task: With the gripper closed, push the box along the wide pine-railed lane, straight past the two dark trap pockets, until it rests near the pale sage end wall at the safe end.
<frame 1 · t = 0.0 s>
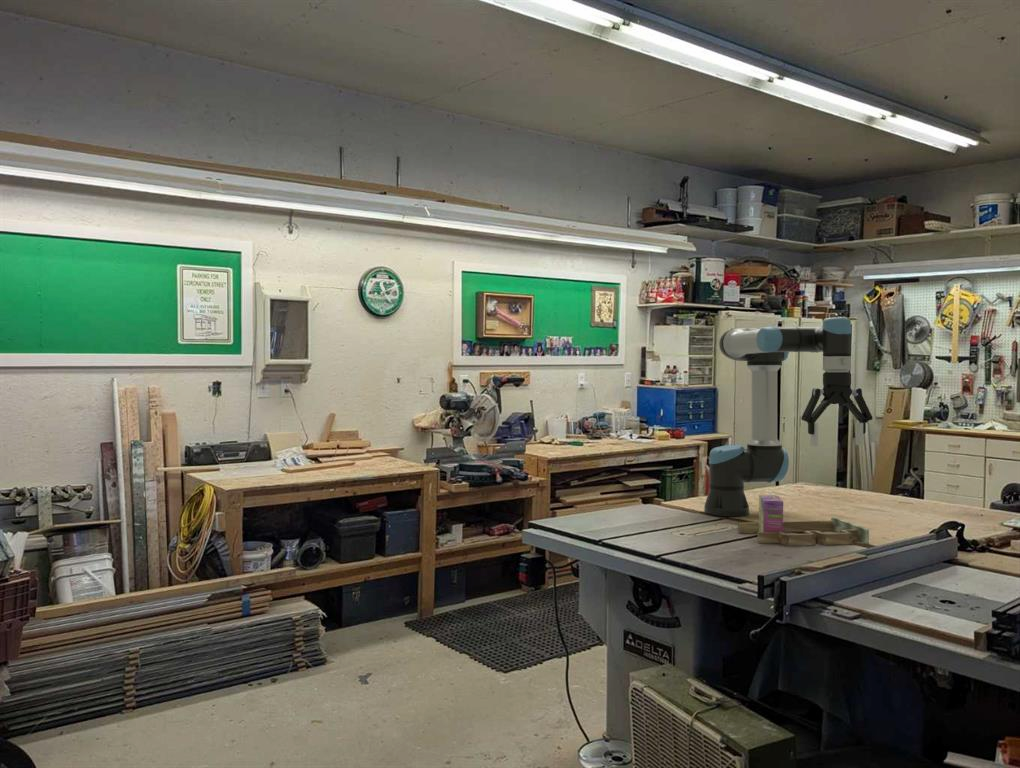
hand: (836, 445, 220), 28 cm above the table, fingers open, 13 cm apart
box: (770, 537, 229), on the table
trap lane: (797, 536, 229), on the table
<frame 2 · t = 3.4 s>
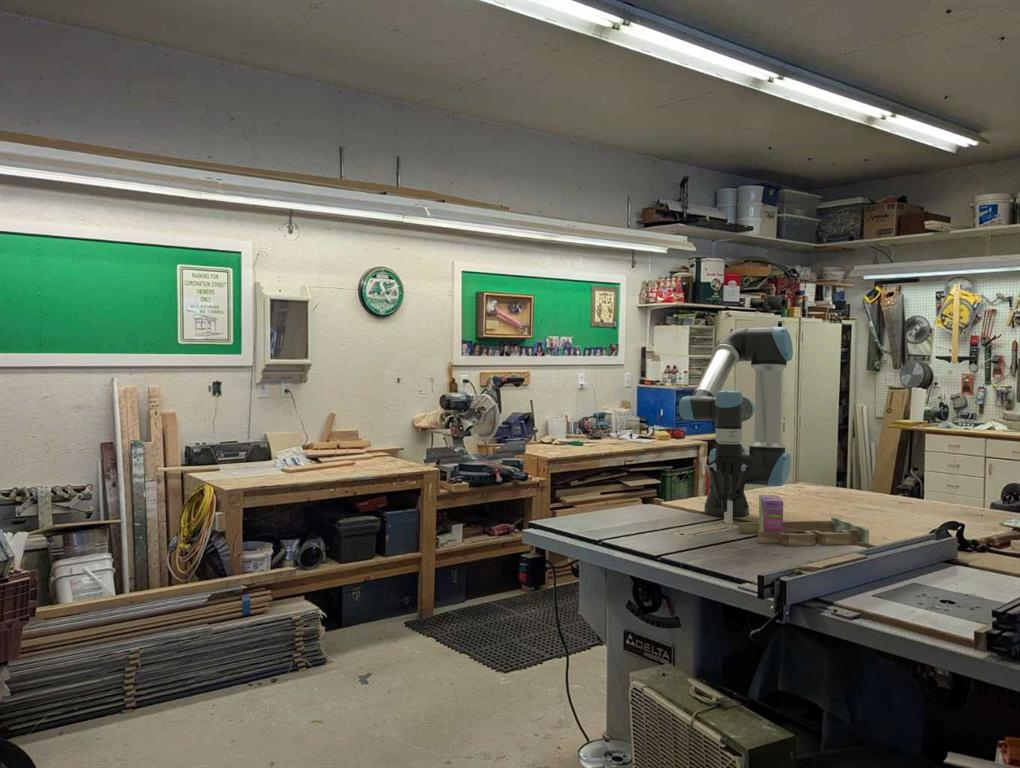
hand: (728, 522, 227), 5 cm above the table, fingers closed
nothing on the table moved.
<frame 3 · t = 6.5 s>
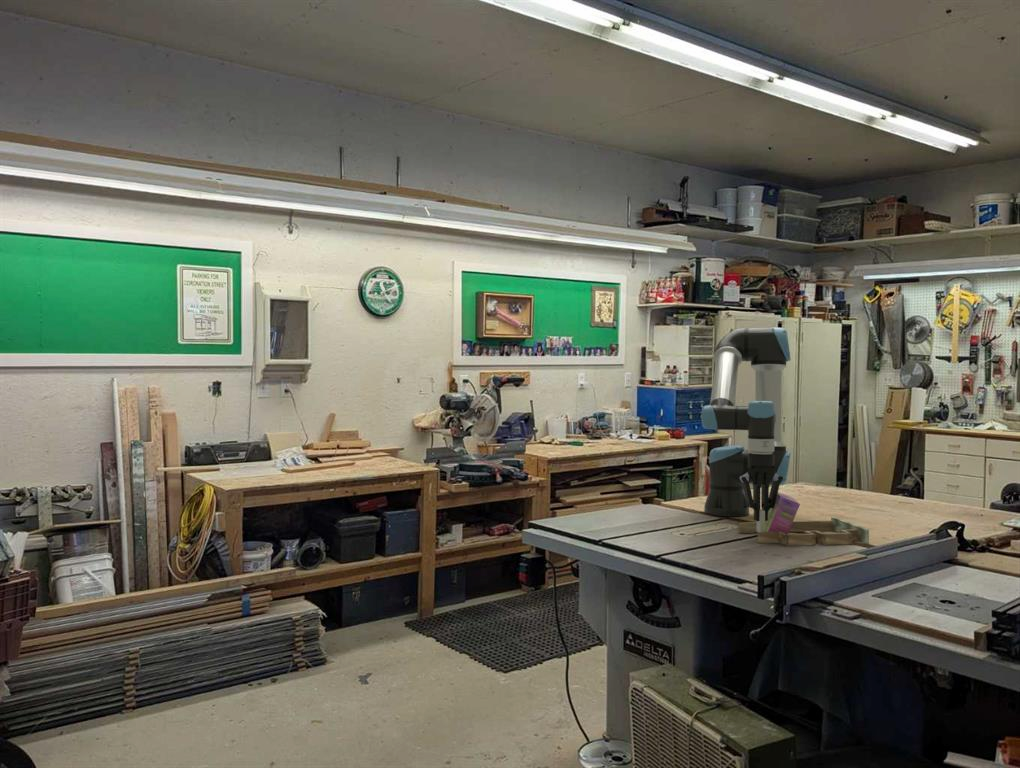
hand: (760, 531, 228), 2 cm above the table, fingers closed
box: (773, 534, 229), point 1 cm above the table, touching gripper, hand
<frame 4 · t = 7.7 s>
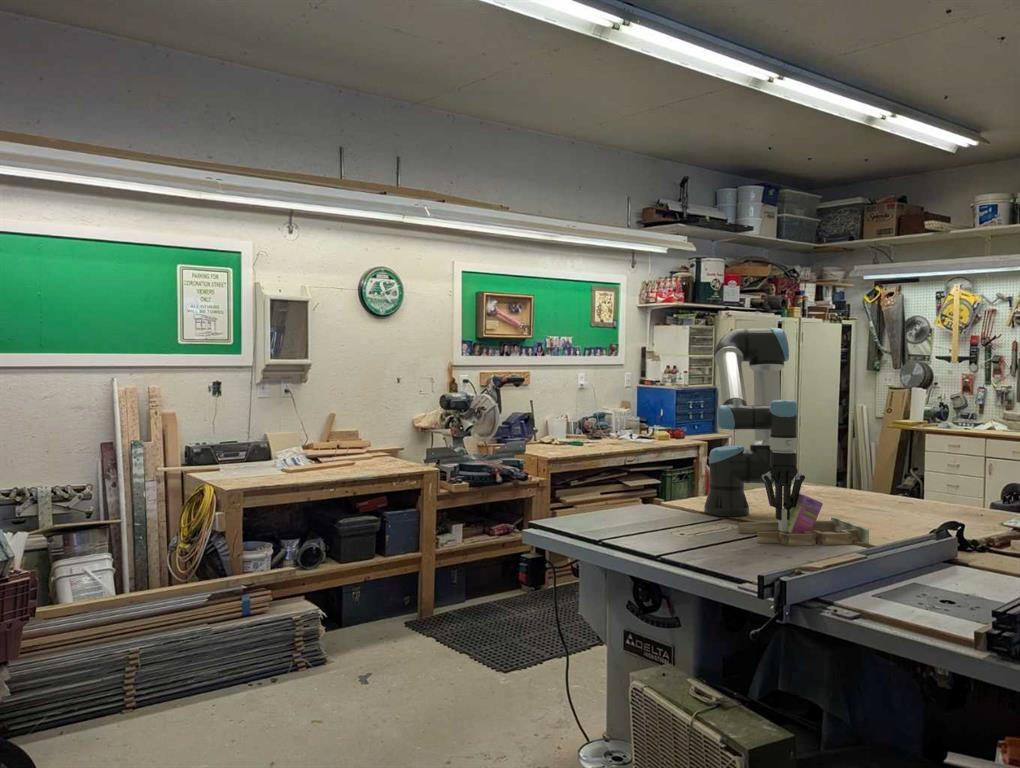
hand: (782, 530, 229), 2 cm above the table, fingers closed
box: (793, 533, 229), point 1 cm above the table, touching gripper, hand
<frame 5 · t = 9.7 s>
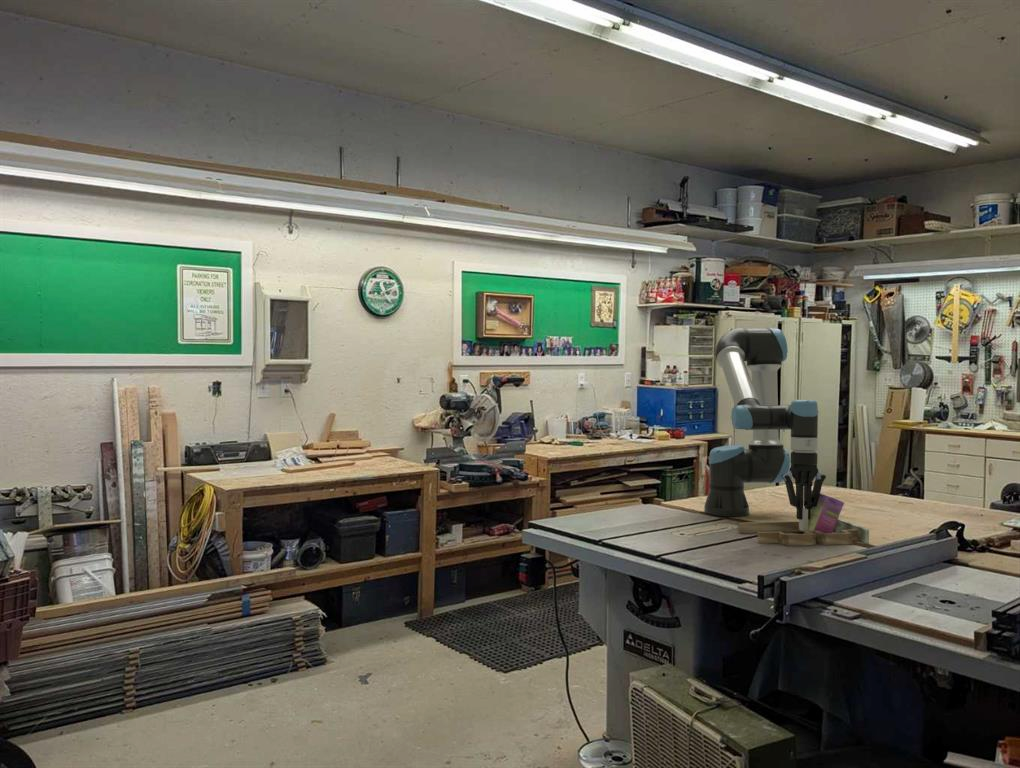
hand: (803, 530, 229), 2 cm above the table, fingers closed
box: (813, 533, 230), point 1 cm above the table, touching gripper, hand
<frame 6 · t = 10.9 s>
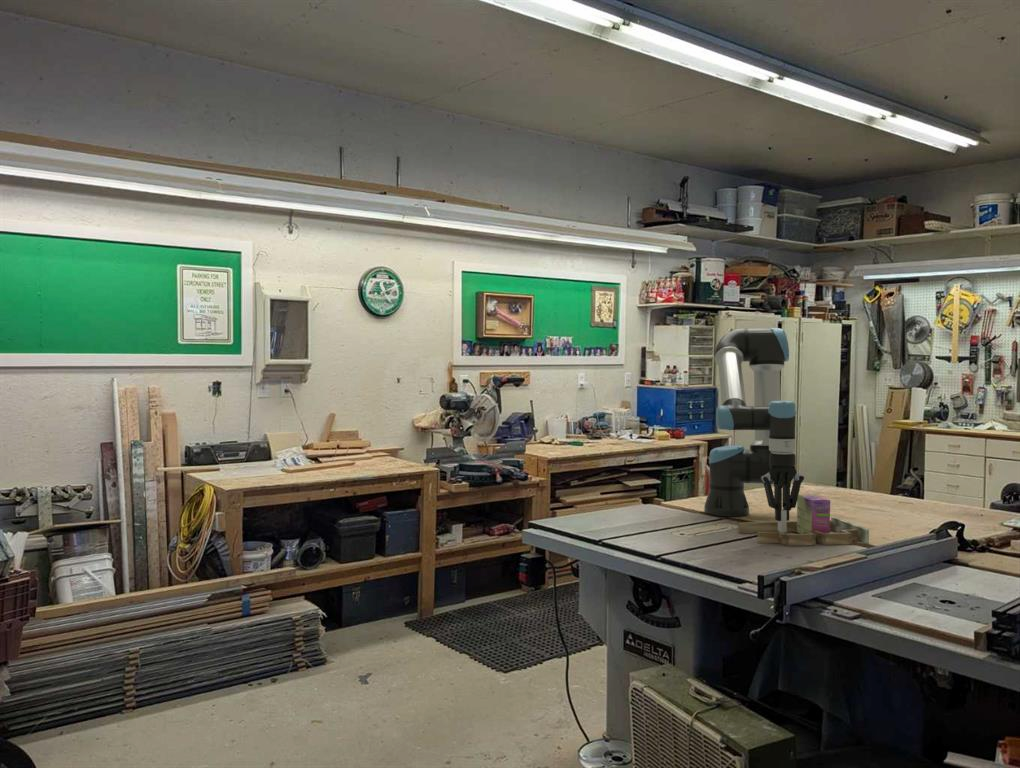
hand: (782, 531, 229), 2 cm above the table, fingers closed
box: (813, 536, 230), on the table
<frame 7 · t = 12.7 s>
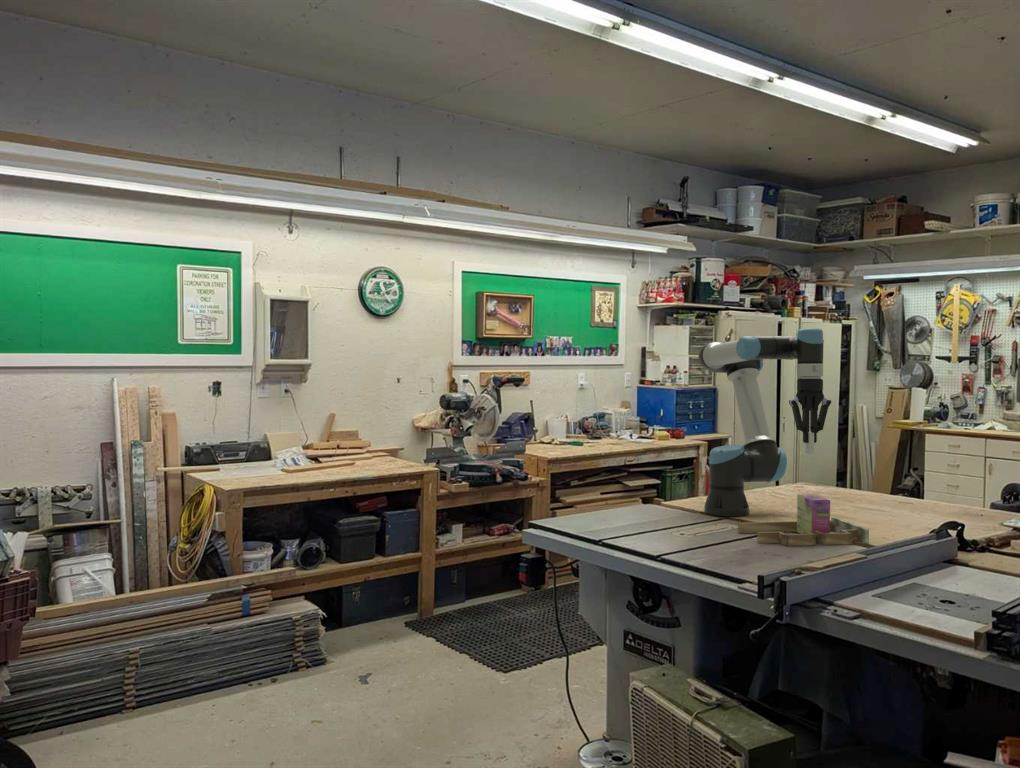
hand: (809, 453, 240), 24 cm above the table, fingers closed
nothing on the table moved.
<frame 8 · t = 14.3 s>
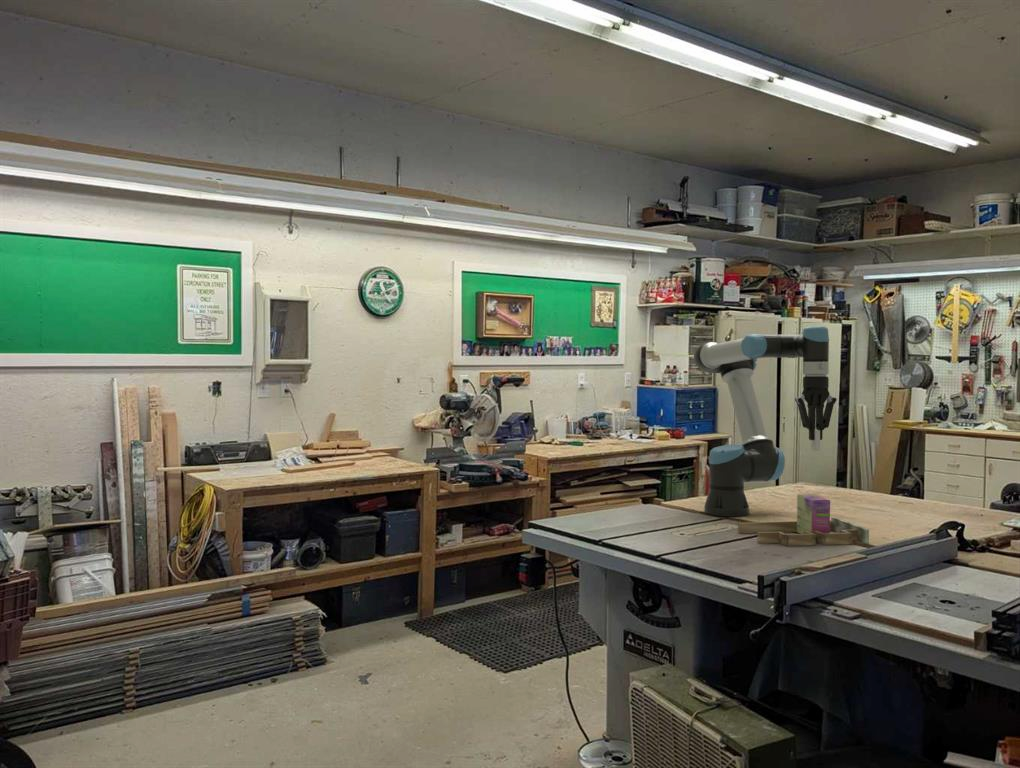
hand: (815, 450, 242), 24 cm above the table, fingers closed
nothing on the table moved.
at the end: box inside the target area (4.3 cm from its centre), on the table; box tilted 0°; box moved 13.2 cm from its start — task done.
